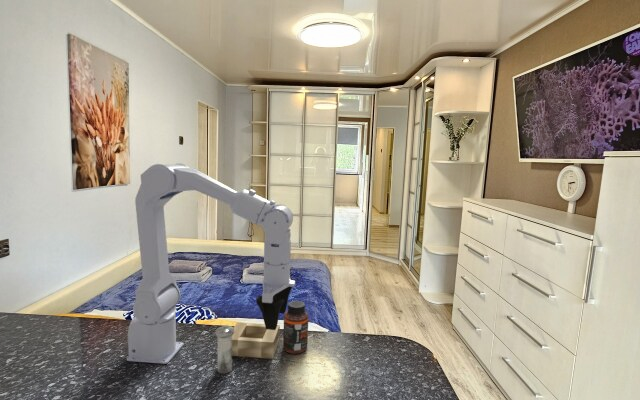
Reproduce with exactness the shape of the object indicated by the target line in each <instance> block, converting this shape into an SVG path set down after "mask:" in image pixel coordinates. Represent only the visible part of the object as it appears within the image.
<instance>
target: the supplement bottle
mask: <svg viewBox="0 0 640 400" xmlns="http://www.w3.org/2000/svg"><path fill="white" fill-rule="evenodd" d="M308 335H309V312H308V311H306V305H305V302H303V301H301V300H292V301H289V302H288V303H287V309H286V310H285V313H283V345H282V346H283V350H284V351H286V352H287V353H289V354H294V355H297V354H301V353H303V352H305V351H306V350H307V348H308V344H309V343H308V342H309V340H308V337H309V336H308Z"/></svg>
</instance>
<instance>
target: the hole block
mask: <svg viewBox="0 0 640 400" xmlns="http://www.w3.org/2000/svg"><path fill="white" fill-rule="evenodd" d="M280 327H281V325H280V324H277V327H276V329H275V330H269V329H266V327H265V323H253V322H251V323H250V322H236V323H235V325H234V326H233V328H234V334H233V335H232V357H244V358H245V357H246V358H258V359H259V358H260V359H273V360H274V357H275V355H276V350H277V347H278V346H279V342H280V335H281V334H280V333H281V332H280Z"/></svg>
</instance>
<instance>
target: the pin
mask: <svg viewBox="0 0 640 400" xmlns="http://www.w3.org/2000/svg"><path fill="white" fill-rule="evenodd" d="M233 334H234V326H231V325H222V326H219V327H218V328H216V329H215V337H217V372H218V373H219V374H220V375H221V374H222V375H223V374H225V375H226V374H229V373H230V372H231V371H232V370H233V356H232V335H233Z"/></svg>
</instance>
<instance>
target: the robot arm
mask: <svg viewBox="0 0 640 400" xmlns="http://www.w3.org/2000/svg"><path fill="white" fill-rule="evenodd" d="M186 191H187V192H190V191H196V192H198V193H201V194H204V195H205V196H208V197H209V198H212V199H215V200H217V201H220V202H221V203H224V204H226V205H229V206H230V209H231V212H232V214H234V215H236V216H238V217H240V218H243V219H245V220H246V221H247V222H250V223H253V224H254V225H257V226H258V227H259V226H260V227H261V228H262V230H263V231H264V241H263V280H262V290H263V291H262V293H261V295H258V296H257V297H256V301H255V302H256V305H257V306H258V308H259V309H260V312H261V315H262V319H263V322H264V323H263V324H265V327H266V329H269V330H275V329H276V327H277V325H279V324H278V323H279V317H280V314H285V312H286V311H287V308H288V303H289V297H290V294H291V290H292V288H293V287H294V286H296V280H292V279H291V251H292V250H291V249H292V247H291V246H292V245H291V244H292V240H291V235H292V233H291V229H290V227H291V226H292V224H293V223H294V214H293V212H292V211H291V210H290V208H289V207H287V206H286V205H285V204H282V203H280V204H276V203H277V202H276V201H275V200H273V199H272V200H268V199H266V198H264V197H262V196H259V195H258V194H257V191H256V190H254V189H252V188H251V189H249V190H247V189H241V190H239V191H236V190H234V189H233V188H231V187H229V186H227V185H225V184H223V183H222V182H220V181H218V180H216V179H214V178H213V177H211V176H209V175H207V174H205V173H203V172H202V171H199V170H198V169H196V168H193V167H189V166H187V165H186V164H184V163H173V164H162V163H161V164H160V163H157V164H153V165H150V166H149V167H148V168H147V169H146V170H144V171H143V173H141V174H140V186H139V188H138V190H137V192H136V196H135V198H134V199H135V201H134V202H135V203H134V204H135V211H136V212H135V213H136V223H137V225H136V226H137V232H138V233H137V234H138V235H137V236H138V242H139V243H138V244H139V252H140V254H139V255H140V264H141V274H142V279H141V281H140V282H139V285H138V286H137V288H136V290H135V300H134V303H133V306H132V312H133V315H134V317H133V318H132V320H131V321H130V323H129V326H128V330H127V345H128V347H127V348H128V357H126V361H128V362H138V363H148V364H149V363H152V364H168V363H169V362H170V361H171V360H172V359H173V358H174V357H175V355H176V354H177V353H178V352H179V351H180V350H181V348H183V346H184V342H183V341H182V342H179V341H177V329H176V327H177V323H176V321H177V320H176V319H177V318H176V316H177V315H176V309H177V307H176V306H177V305H178V304H179V302H180V301H181V296H182V295H181V291H180V287H179V286H178V284H177V281H176V277H175V276H174V275H173V274H171V273H170V266H169V265H170V263H169V252H168V243H167V241H168V240H167V232H166V231H167V230H166V222H165V221H166V220H165V218H166V217H165V209H164V208H165V205H167V203H169V201H171V200H172V199H173V198H174V197H175V196H176V195H179V194H180V193H183V192H186Z"/></svg>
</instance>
